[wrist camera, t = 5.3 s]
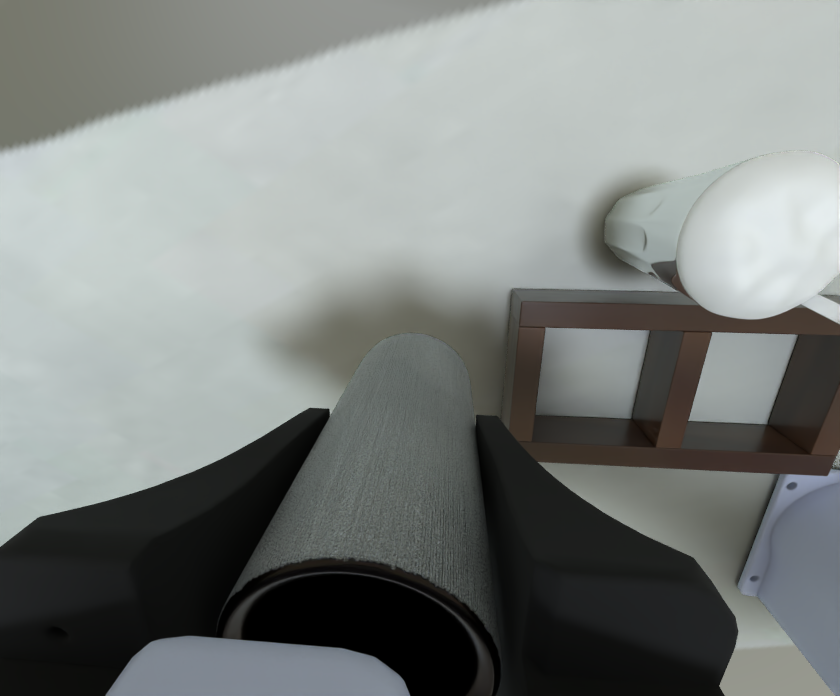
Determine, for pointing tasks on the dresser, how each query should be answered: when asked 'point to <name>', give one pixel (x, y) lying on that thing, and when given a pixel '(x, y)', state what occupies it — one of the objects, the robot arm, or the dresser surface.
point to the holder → (675, 387)
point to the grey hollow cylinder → (385, 531)
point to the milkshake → (739, 234)
